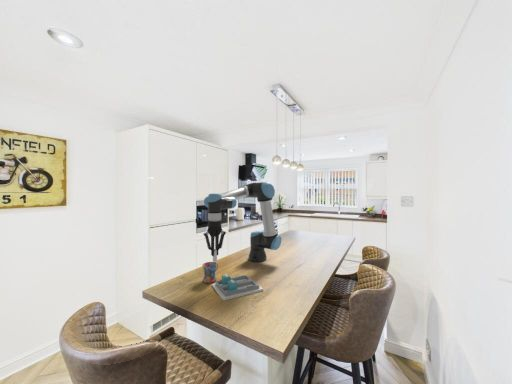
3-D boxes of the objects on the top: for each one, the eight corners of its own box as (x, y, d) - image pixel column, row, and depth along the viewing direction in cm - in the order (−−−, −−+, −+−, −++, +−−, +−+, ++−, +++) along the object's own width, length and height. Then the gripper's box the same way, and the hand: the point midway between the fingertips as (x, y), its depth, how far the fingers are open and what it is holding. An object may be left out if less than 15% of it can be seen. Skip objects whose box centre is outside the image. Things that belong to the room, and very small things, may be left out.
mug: (209, 285, 129) (209, 267, 129) (199, 281, 134) (199, 264, 134) (223, 278, 139) (223, 262, 139) (212, 275, 144) (212, 259, 144)
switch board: (247, 277, 140) (247, 273, 140) (263, 290, 122) (263, 284, 122) (212, 285, 128) (212, 280, 128) (223, 300, 111) (223, 294, 111)
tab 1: (228, 282, 130) (228, 273, 129) (230, 285, 126) (230, 275, 126) (221, 284, 128) (221, 274, 128) (224, 286, 124) (224, 277, 124)
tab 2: (234, 288, 122) (234, 278, 122) (237, 291, 118) (237, 281, 118) (227, 290, 120) (227, 280, 120) (230, 293, 116) (230, 282, 116)
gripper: (223, 218, 129) (223, 257, 129) (201, 220, 123) (201, 261, 123) (227, 220, 123) (227, 261, 123) (205, 221, 116) (205, 265, 117)
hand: (214, 261), depth 123 cm, fingers closed
